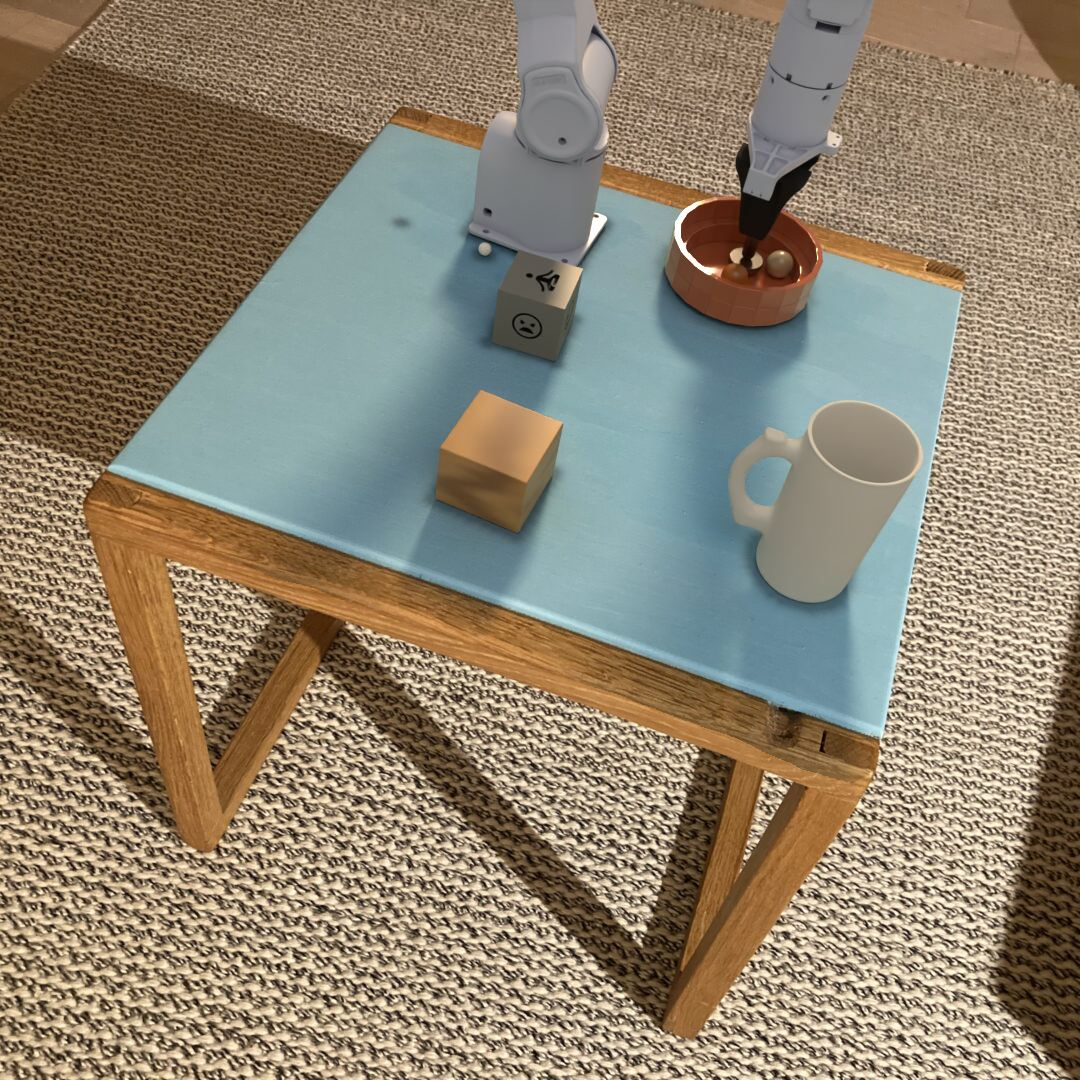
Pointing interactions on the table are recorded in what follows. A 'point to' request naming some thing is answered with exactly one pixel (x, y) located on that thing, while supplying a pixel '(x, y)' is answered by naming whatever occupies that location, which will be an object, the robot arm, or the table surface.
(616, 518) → the table surface
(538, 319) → the dice cube
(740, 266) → the amber bead
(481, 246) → the sphere
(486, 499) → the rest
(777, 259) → the cream bead
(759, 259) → the brown peg
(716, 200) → the bowl
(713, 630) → the table surface
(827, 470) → the mug
